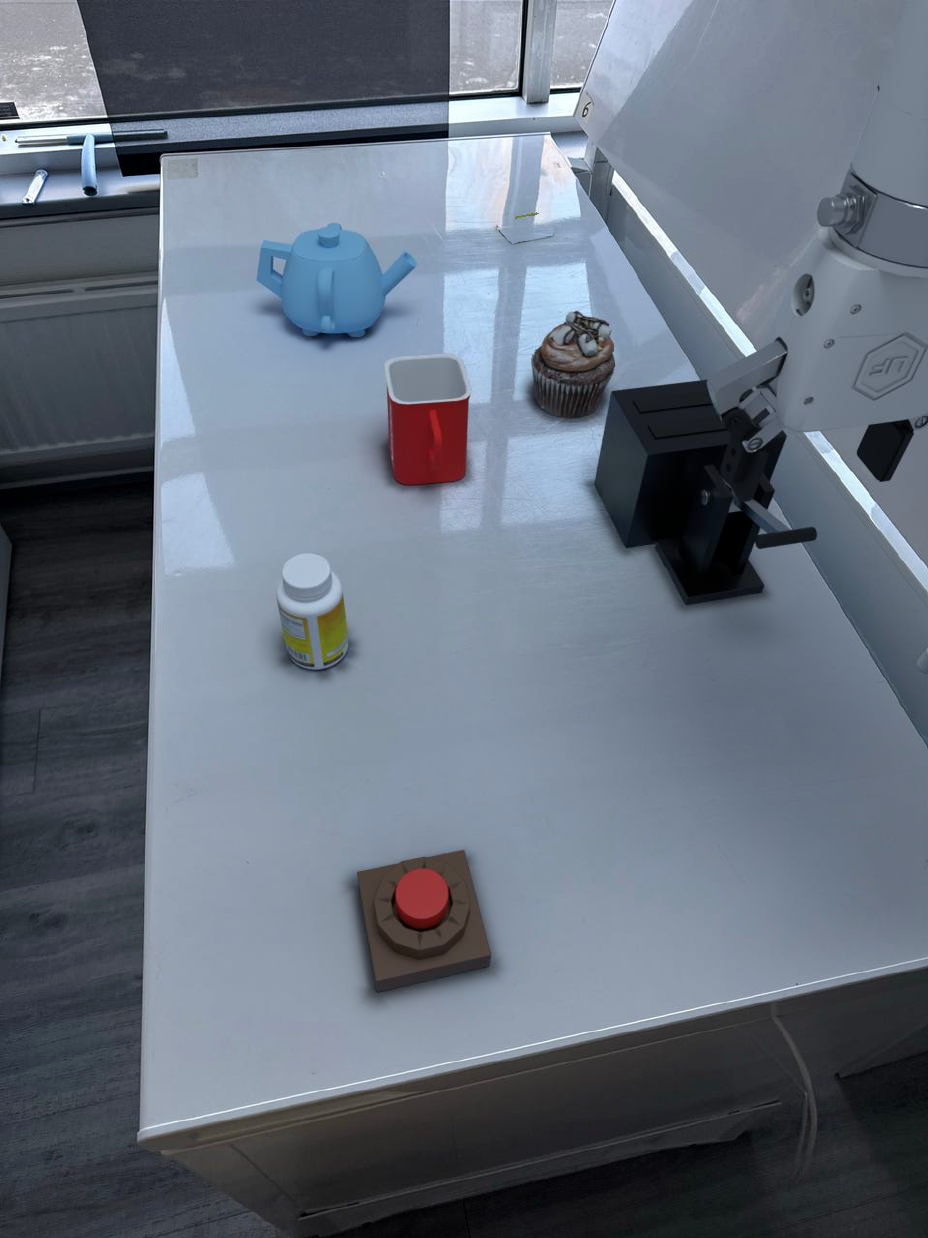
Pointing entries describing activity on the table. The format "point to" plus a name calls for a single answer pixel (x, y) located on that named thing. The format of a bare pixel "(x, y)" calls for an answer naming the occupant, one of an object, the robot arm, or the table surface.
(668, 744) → the table surface
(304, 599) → the supplement bottle
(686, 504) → the toaster
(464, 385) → the mug
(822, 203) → the robot arm
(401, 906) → the red button
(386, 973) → the button block
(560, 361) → the cupcake
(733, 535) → the lever bracket
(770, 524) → the toaster lever
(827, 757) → the table surface
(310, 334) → the teapot
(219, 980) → the table surface
